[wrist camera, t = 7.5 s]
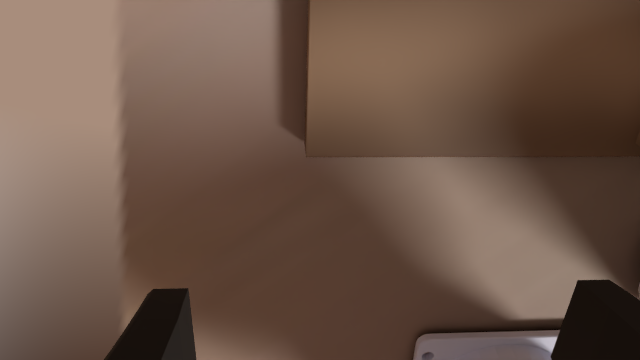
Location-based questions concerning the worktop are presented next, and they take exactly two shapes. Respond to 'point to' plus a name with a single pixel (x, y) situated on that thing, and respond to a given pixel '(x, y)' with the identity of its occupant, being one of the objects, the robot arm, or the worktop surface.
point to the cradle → (473, 78)
